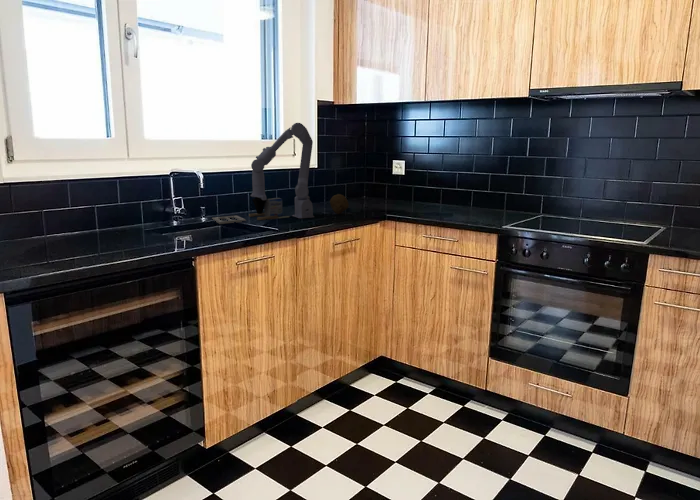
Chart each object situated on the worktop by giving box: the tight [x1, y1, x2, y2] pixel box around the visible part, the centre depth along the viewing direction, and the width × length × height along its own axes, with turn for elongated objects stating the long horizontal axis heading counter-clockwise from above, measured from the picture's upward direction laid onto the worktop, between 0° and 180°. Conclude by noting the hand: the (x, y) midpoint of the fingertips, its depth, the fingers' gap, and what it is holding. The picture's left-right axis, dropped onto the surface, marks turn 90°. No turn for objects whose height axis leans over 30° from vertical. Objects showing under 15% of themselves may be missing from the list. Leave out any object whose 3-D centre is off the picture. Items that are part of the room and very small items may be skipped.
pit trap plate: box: [211, 215, 247, 225], centre depth 231 cm, size 13×12×1 cm
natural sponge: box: [329, 193, 350, 215], centre depth 247 cm, size 9×9×10 cm
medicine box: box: [263, 197, 283, 217], centre depth 241 cm, size 8×4×9 cm, turn 137°
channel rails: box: [248, 212, 279, 221], centre depth 239 cm, size 13×10×1 cm
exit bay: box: [277, 215, 291, 219], centre depth 244 cm, size 13×6×1 cm, turn 31°
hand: (259, 213), depth 238 cm, fingers closed
